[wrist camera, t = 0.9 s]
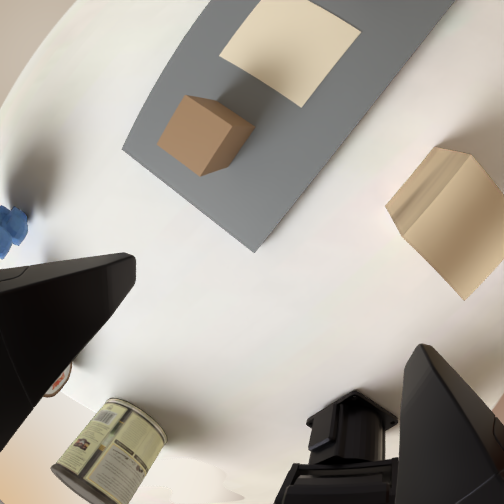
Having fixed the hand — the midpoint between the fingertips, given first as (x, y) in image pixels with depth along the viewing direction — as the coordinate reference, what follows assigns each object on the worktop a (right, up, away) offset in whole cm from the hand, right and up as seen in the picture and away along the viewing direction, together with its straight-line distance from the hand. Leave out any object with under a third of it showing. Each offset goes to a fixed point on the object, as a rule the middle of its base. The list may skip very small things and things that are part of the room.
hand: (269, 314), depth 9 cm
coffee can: (-17, -22, +28) cm, 39 cm away
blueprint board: (+2, +14, +7) cm, 16 cm away
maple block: (+11, +5, +8) cm, 15 cm away
